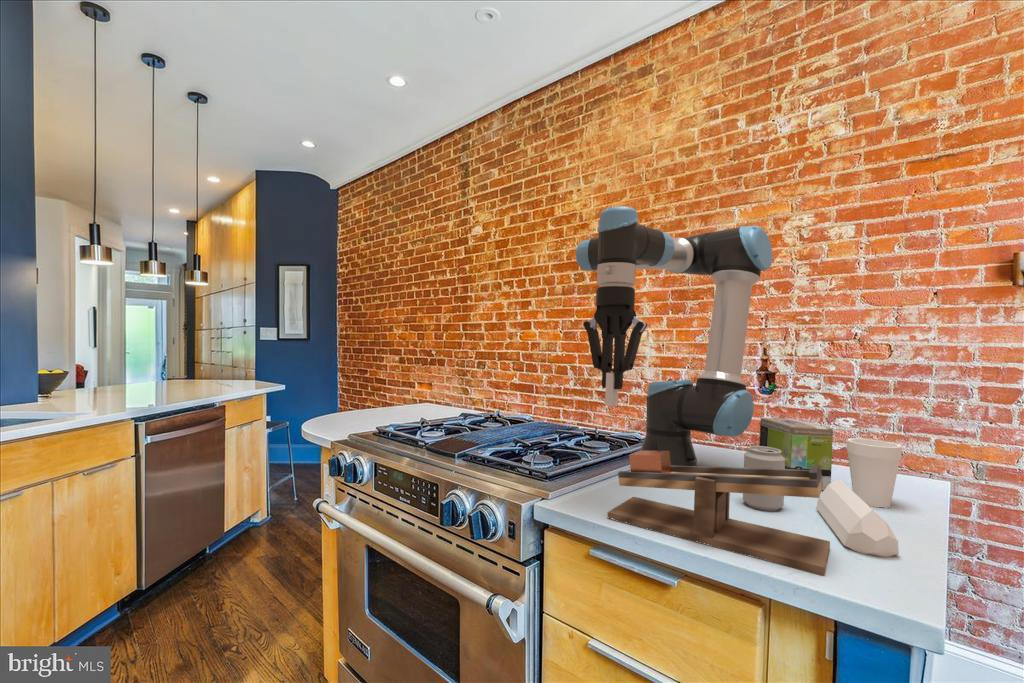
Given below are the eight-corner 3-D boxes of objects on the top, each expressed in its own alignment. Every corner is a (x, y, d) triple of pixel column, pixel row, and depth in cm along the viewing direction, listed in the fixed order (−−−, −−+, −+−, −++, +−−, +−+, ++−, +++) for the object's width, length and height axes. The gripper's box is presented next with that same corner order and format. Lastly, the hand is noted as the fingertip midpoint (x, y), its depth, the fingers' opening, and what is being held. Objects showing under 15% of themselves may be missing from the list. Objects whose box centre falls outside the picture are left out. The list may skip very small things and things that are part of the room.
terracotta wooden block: (631, 476, 91) (629, 454, 91) (641, 471, 95) (639, 450, 95) (662, 477, 88) (660, 455, 88) (671, 472, 92) (669, 450, 92)
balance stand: (607, 518, 90) (609, 462, 90) (632, 502, 100) (634, 451, 100) (824, 575, 70) (826, 503, 70) (829, 548, 80) (831, 484, 79)
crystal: (804, 488, 101) (835, 528, 78) (839, 474, 99) (882, 512, 76) (823, 521, 100) (861, 572, 77) (860, 509, 97) (909, 557, 75)
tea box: (832, 492, 112) (834, 428, 112) (788, 490, 112) (791, 426, 112) (795, 474, 127) (797, 417, 127) (756, 472, 127) (758, 416, 127)
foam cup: (850, 493, 111) (852, 436, 111) (902, 504, 104) (904, 443, 104) (841, 502, 104) (843, 441, 104) (895, 514, 97) (897, 449, 97)
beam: (619, 485, 91) (617, 466, 91) (635, 476, 97) (634, 459, 98) (819, 498, 72) (815, 474, 72) (823, 485, 79) (820, 464, 79)
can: (789, 514, 96) (791, 453, 96) (748, 510, 97) (750, 450, 97) (776, 502, 103) (778, 445, 103) (738, 498, 104) (740, 443, 104)
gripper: (577, 286, 97) (573, 403, 97) (639, 283, 89) (635, 410, 89) (594, 290, 103) (590, 400, 103) (654, 287, 95) (650, 407, 95)
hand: (611, 405), depth 96 cm, fingers closed
